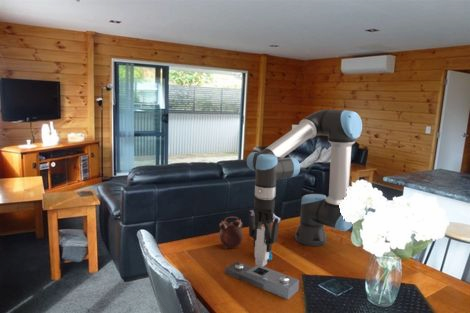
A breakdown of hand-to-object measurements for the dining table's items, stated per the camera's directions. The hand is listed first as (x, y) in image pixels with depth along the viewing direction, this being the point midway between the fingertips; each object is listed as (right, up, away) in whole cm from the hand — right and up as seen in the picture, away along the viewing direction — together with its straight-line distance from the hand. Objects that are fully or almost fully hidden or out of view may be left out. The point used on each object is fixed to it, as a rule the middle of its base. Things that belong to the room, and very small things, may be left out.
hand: (261, 257), depth 130 cm
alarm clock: (-12, -5, +30) cm, 33 cm away
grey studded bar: (0, -9, +2) cm, 10 cm away
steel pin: (0, -3, 0) cm, 3 cm away
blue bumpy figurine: (+3, -7, +22) cm, 23 cm away
